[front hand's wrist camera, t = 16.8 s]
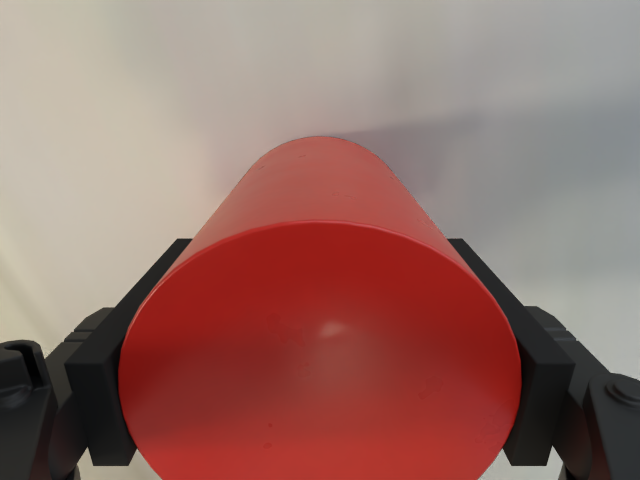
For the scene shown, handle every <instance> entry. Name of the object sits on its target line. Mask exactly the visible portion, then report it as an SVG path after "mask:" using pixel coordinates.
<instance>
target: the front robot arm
mask: <svg viewBox="0 0 640 480" xmlns="http://www.w3.org/2000/svg"><path fill="white" fill-rule="evenodd" d="M192 240H193V239H177V240H176V241H175V242H174V243H173V244H172V245H171V246H170V247H169V248H168V250H167V251H166V252H165V253H164V254H163V255H162V256H161V257H160V258H159V259H158V260H157V262H156V263H155V264H154V265H153V266H152V267H151V268H150V269H149V270H148V271H147V273H146V274H145V275H144V276H143V277H142V278H141V279H140V280H139V281H138V282H137V284H136V285H135V286H134V287H133V288H132V289H131V290H130V291H129V292H128V293H127V295H126V296H125V297H124V298H123V299H122V300H121V301H120V302H119V303H118V304H117V306H116V307H115V308H102V309H100V310H98V311H97V312H95V313H93V314H92V315H90V316H88V317H86V318H85V319H84V320H83V321H82V322H81V323H80V324H79V325H78V326H77V327H76V328H75V329H74V332H71V333H70V334H69V335H68V336H67V337H66V338H65V339H64V342H61V343H60V344H59V345H58V346H57V347H56V348H55V349H54V350H53V351H52V352H51V353H50V354H49V355H48V356H47V357H46V358H45V359H44V356H43V353H42V350H41V347H40V345H39V344H38V343H36V342H34V341H30V340H15V341H7V342H4V343H0V480H81V479H80V473H79V469H78V466H77V463H78V461H79V459H80V458H81V456H82V455H83V453H84V452H85V450H86V448H87V447H88V449H89V452H90V456H91V459H92V463H93V466H129V464H130V462H131V460H132V458H133V456H134V454H135V452H136V450H137V446H136V445H135V443H134V441H133V439H132V437H131V435H130V433H129V431H128V428H127V425H126V423H125V420H124V417H123V414H122V410H121V404H120V399H119V394H118V367H119V361H120V354H121V348H122V345H123V342H124V339H125V336H126V333H127V330H128V327H129V325H130V323H131V321H132V320H133V318H134V316H135V314H136V312H137V310H138V308H139V306H140V305H141V304H142V302H143V301H144V300H145V298H146V297H147V296H148V295H149V293H150V292H151V291H152V289H153V288H154V287H155V285H156V284H157V283H158V282H159V280H160V279H161V278H162V277H163V276H164V274H165V273H166V272H167V271H168V269H169V268H170V267H171V266H172V264H173V263H174V262H175V261H176V259H177V258H178V257H179V256H180V255H181V253H182V252H183V251H184V250H185V248H186V247H187V246H188V245H189V243H190V242H191V241H192ZM447 240H448V241H449V242H450V244H451V245H452V246H453V247H454V249H455V250H456V251H457V252H458V254H459V255H460V256H461V257H462V258H463V260H464V261H465V262H466V263H467V265H468V266H469V267H470V268H471V270H472V271H473V272H474V273H475V275H476V276H477V277H478V278H479V279H480V281H481V282H482V283H483V284H484V286H485V287H486V288H487V289H488V291H489V292H490V293H491V294H492V296H493V297H494V298H495V300H496V301H497V303H498V305H499V306H500V308H501V309H502V311H503V313H504V314H505V316H506V317H507V319H508V322H509V324H510V327H511V329H512V331H513V334H514V336H515V339H516V342H517V347H518V351H519V356H520V360H521V376H522V388H521V397H520V405H519V409H518V412H517V416H516V419H515V423H514V426H513V428H512V430H511V432H510V434H509V436H508V439H507V441H506V443H505V445H504V446H503V450H504V452H505V454H506V456H507V458H508V460H509V462H510V464H511V466H546V465H547V462H548V458H549V455H550V451H551V448H552V445H553V447H554V448H555V450H556V451H557V453H558V455H559V456H560V458H561V459H562V461H563V466H562V469H561V472H560V475H559V478H558V480H640V381H639V380H637V379H634V378H631V377H628V376H625V375H622V374H615V373H610V372H609V371H608V370H607V369H606V368H605V367H604V366H603V365H602V364H601V363H600V362H599V361H598V360H597V359H596V358H595V357H594V356H593V355H592V354H591V353H590V352H589V351H588V350H587V349H586V348H585V347H584V346H583V345H582V344H581V343H580V342H579V341H576V338H575V337H574V336H573V335H572V334H571V333H570V332H569V331H566V328H565V327H564V326H563V325H562V324H561V323H560V322H559V321H558V320H557V319H556V318H555V317H554V316H553V315H551V314H549V313H547V312H546V311H544V310H542V309H540V308H539V307H537V306H523V305H522V304H521V303H520V301H519V300H518V299H517V298H516V297H515V296H514V295H513V294H512V293H511V292H510V290H509V289H508V288H507V287H506V286H505V285H504V284H503V283H502V282H501V281H500V279H499V278H498V277H497V276H496V275H495V274H494V273H493V272H492V271H491V270H490V268H489V267H488V266H487V265H486V264H485V263H484V262H483V261H482V260H481V259H480V257H479V256H478V255H477V254H476V253H475V252H474V251H473V250H472V249H471V248H470V246H469V245H468V244H467V243H466V242H465V241H464V240H463V239H447Z"/></svg>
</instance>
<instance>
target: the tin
mask: <svg viewBox="0 0 640 480" xmlns="http://www.w3.org/2000/svg"><path fill="white" fill-rule="evenodd" d="M521 388H522V376H521V360H520V356H519V351H518V347H517V342H516V339H515V336H514V334H513V331H512V329H511V327H510V324H509V322H508V319H507V317H506V316H505V314H504V313H503V311H502V309H501V308H500V306H499V305H498V303H497V301H496V300H495V298H494V297H493V296H492V294H491V293H490V292H489V291H488V289H487V288H486V287H485V286H484V284H483V283H482V282H481V281H480V279H479V278H478V277H477V276H476V275H475V273H474V272H473V271H472V270H471V268H470V267H469V266H468V265H467V263H466V262H465V261H464V260H463V258H462V257H461V256H460V255H459V254H458V252H457V251H456V250H455V249H454V247H453V246H452V245H451V244H450V242H449V241H448V240H447V239H446V237H445V236H444V235H443V234H442V233H441V231H440V230H439V229H438V228H437V226H436V225H435V224H434V223H433V221H432V220H431V219H430V218H429V216H428V215H427V214H426V213H425V212H424V210H423V209H422V208H421V207H420V205H419V204H418V203H417V202H416V200H415V199H414V198H413V197H412V195H411V194H410V193H409V192H408V191H407V189H406V188H405V187H404V186H403V184H402V183H401V182H400V181H399V179H398V178H397V177H396V176H395V174H394V173H393V172H392V171H391V170H390V169H389V167H388V166H387V165H386V164H385V163H384V162H383V161H382V160H381V159H380V158H378V157H377V156H376V155H375V154H373V153H372V152H370V151H369V150H367V149H366V148H364V147H362V146H360V145H357V144H355V143H353V142H350V141H346V140H343V139H339V138H333V137H307V138H301V139H297V140H293V141H290V142H287V143H285V144H282V145H280V146H278V147H276V148H274V149H273V150H271V151H269V152H268V153H267V154H265V155H264V156H263V157H261V158H260V159H259V160H258V161H257V162H256V163H255V164H254V165H253V166H252V167H251V168H250V169H249V171H248V172H247V173H246V174H245V176H244V177H243V178H242V179H241V180H240V182H239V183H238V184H237V185H236V187H235V188H234V189H233V190H232V192H231V193H230V194H229V195H228V197H227V198H226V199H225V200H224V201H223V203H222V204H221V205H220V206H219V208H218V209H217V210H216V211H215V213H214V214H213V215H212V216H211V218H210V219H209V220H208V221H207V222H206V224H205V225H204V226H203V227H202V229H201V230H200V231H199V232H198V234H197V235H196V236H195V237H194V238H193V240H192V241H191V242H190V243H189V245H188V246H187V247H186V248H185V250H184V251H183V252H182V253H181V255H180V256H179V257H178V258H177V259H176V261H175V262H174V263H173V264H172V266H171V267H170V268H169V269H168V271H167V272H166V273H165V274H164V276H163V277H162V278H161V279H160V280H159V282H158V283H157V284H156V285H155V287H154V288H153V289H152V291H151V292H150V293H149V295H148V296H147V297H146V298H145V300H144V301H143V302H142V304H141V305H140V306H139V308H138V310H137V312H136V314H135V316H134V318H133V320H132V321H131V323H130V325H129V327H128V330H127V333H126V336H125V339H124V342H123V345H122V348H121V354H120V361H119V367H118V394H119V399H120V404H121V410H122V414H123V417H124V420H125V423H126V425H127V428H128V431H129V433H130V435H131V437H132V439H133V441H134V443H135V445H136V446H137V448H138V450H139V452H140V453H141V454H142V456H143V457H144V459H145V460H146V461H147V463H148V464H149V465H150V467H151V468H152V469H153V470H154V471H155V472H156V473H157V474H158V475H159V476H160V477H161V479H162V480H477V479H478V478H479V477H481V475H482V474H483V473H484V472H485V471H486V470H487V468H488V467H489V466H490V465H491V464H492V463H493V461H494V460H495V458H496V457H497V455H498V454H499V452H500V451H501V449H502V448H503V446H504V445H505V443H506V441H507V439H508V436H509V434H510V432H511V430H512V428H513V426H514V423H515V419H516V416H517V412H518V409H519V405H520V397H521Z"/></svg>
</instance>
